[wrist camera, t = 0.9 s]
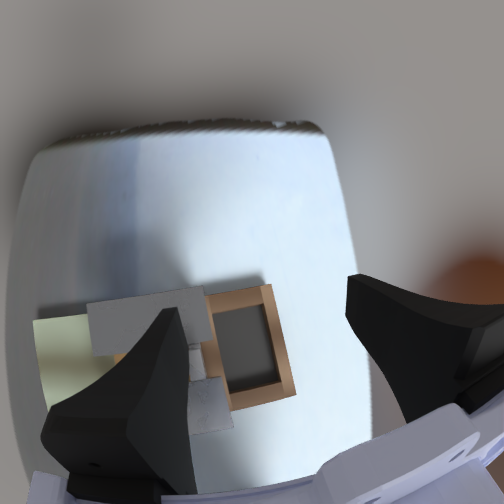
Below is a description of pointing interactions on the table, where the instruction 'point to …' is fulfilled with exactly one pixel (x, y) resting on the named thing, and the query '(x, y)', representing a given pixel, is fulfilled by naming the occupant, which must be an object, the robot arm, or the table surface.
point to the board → (92, 368)
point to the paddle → (196, 362)
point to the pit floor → (244, 348)
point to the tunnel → (136, 324)
